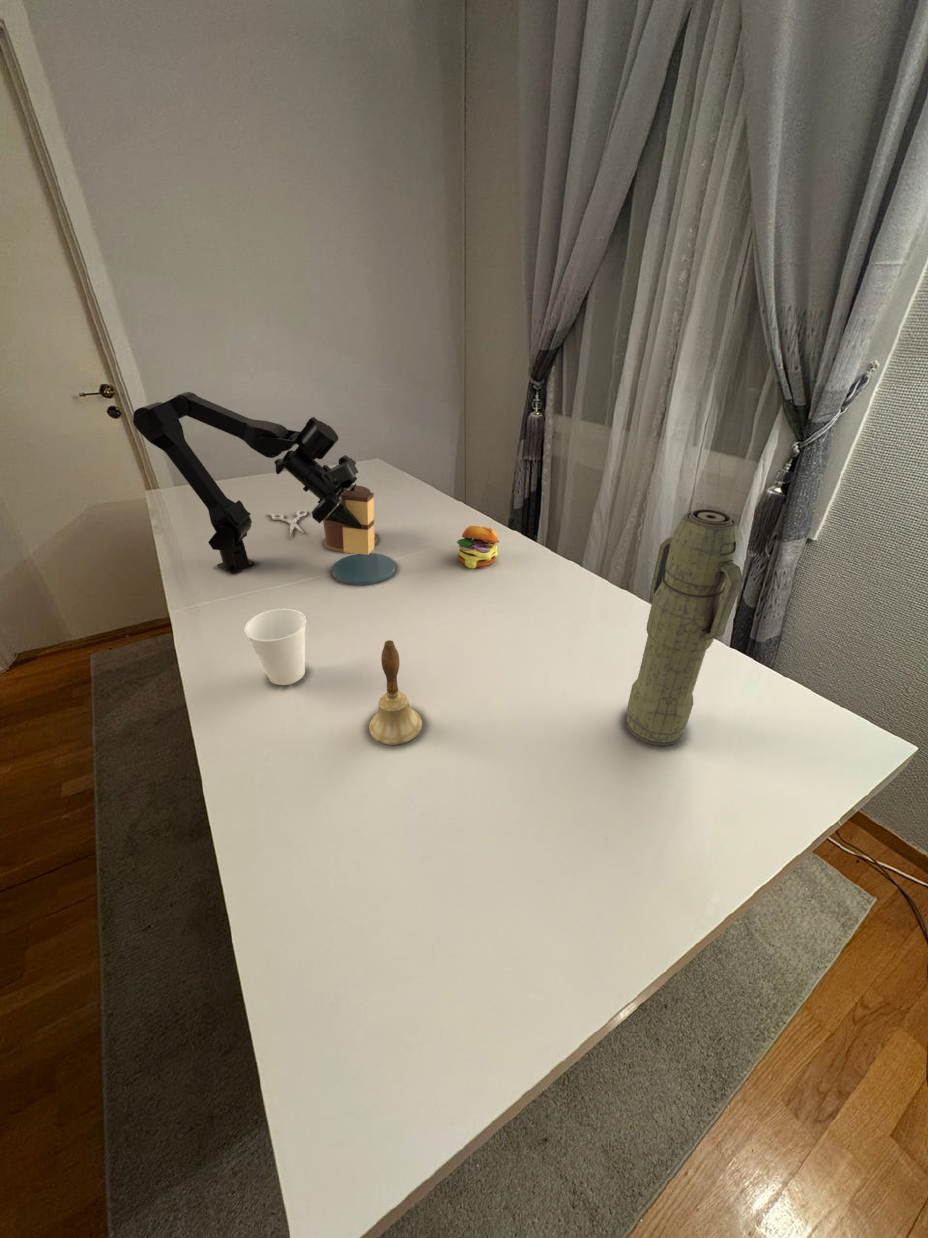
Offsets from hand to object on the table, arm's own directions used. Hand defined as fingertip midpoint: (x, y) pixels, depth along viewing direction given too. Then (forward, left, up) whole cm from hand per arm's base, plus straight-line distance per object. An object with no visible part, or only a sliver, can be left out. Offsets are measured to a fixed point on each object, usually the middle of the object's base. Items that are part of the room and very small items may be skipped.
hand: (364, 522), depth 119 cm
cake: (-16, +9, -12) cm, 23 cm away
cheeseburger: (+18, +20, -13) cm, 30 cm away
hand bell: (+41, -36, -13) cm, 55 cm away
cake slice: (-2, -1, -7) cm, 7 cm away
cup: (+17, -38, -13) cm, 43 cm away
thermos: (+74, -12, -13) cm, 76 cm away
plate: (-1, -1, -12) cm, 13 cm away
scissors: (-38, +7, -12) cm, 41 cm away
